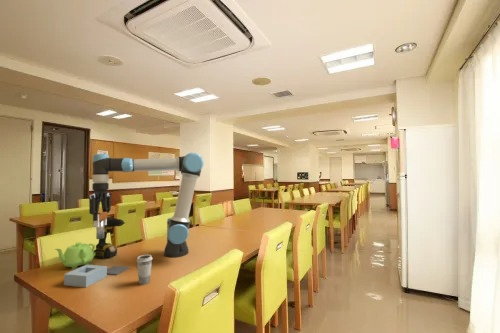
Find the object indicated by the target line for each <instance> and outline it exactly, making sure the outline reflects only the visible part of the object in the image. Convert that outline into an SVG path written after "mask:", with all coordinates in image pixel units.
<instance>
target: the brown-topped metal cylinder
mask: <svg viewBox="0 0 500 333" xmlns="http://www.w3.org/2000/svg"><path fill="white" fill-rule="evenodd" d="M98 214H99V227H95V228H96V232H95V234H96V235H95V236H96V240H99V239H103V238H104V220H105V219H107V216H108V213H107V212H103V211H98Z"/></svg>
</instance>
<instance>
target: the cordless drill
mask: <svg viewBox="0 0 500 333" xmlns="http://www.w3.org/2000/svg"><path fill="white" fill-rule="evenodd" d="M92 224H94V221H93V223H92ZM124 224H126V222H124V220H122V219H119V218H116V217H111V216H110V215H109V216H108V215H107V225H104V238H103V239H98V243H97V244H96V245H95V249H94V251H93V252H95V256H93V258H95V259H106V260H107V259H112V258H113V257H116V256H117V254H118V248H117V247H116V246H115V245H114V244H112V242H111V243H109V242H107V241H106V240H107V236H108V234H110V233H111V230H112V229H113V227H121V226H123V225H124ZM93 254H94V253H93Z"/></svg>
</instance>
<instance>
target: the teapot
mask: <svg viewBox="0 0 500 333" xmlns="http://www.w3.org/2000/svg"><path fill="white" fill-rule="evenodd" d="M91 246H92V247H91ZM54 250H56V251H57V253H58V260H59V261H60V262H61V263H62V264H63V265H64V266H65V267H66V268H71V270H75V268H76V269H78V266H85V265H90V263H91V262H92V261H93V259H94V256H95V252H94V250H96V245H95V244H93V243H89V244H87V243H82V242H75V244H73V245H70V246H68V247H66V250H65V251H64V253H63V250H62V249H61V248H55V249H54ZM93 253H94V254H93Z"/></svg>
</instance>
